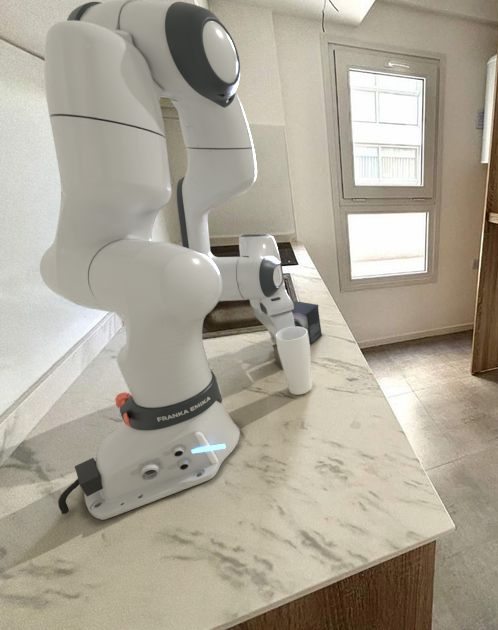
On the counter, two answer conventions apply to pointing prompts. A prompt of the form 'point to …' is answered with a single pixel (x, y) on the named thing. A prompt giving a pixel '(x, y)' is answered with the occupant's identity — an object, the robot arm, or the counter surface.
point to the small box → (307, 319)
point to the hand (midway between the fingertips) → (277, 342)
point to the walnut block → (277, 355)
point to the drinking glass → (295, 358)
